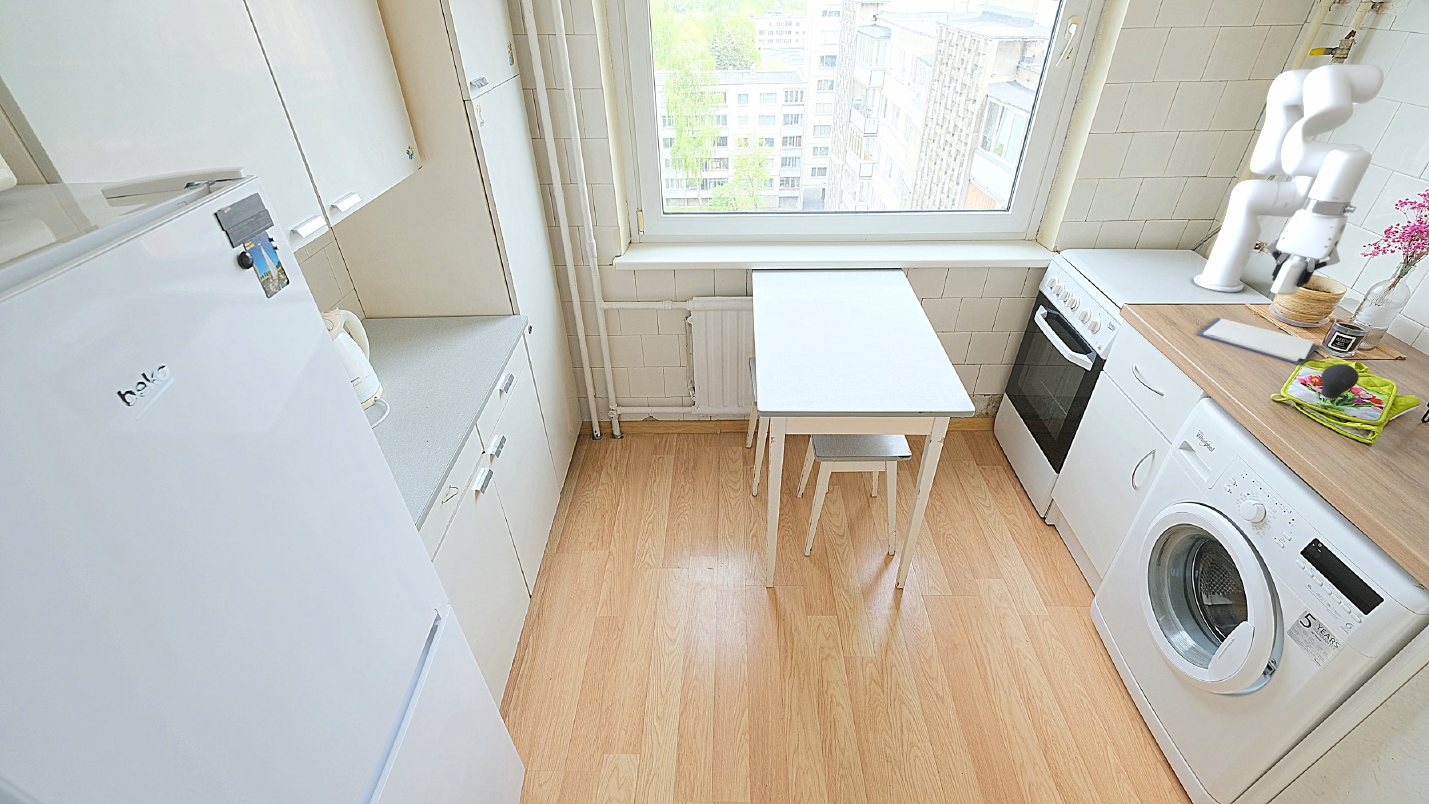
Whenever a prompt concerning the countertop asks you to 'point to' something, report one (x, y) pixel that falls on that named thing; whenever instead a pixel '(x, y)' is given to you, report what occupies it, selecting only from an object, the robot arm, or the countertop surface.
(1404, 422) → the countertop surface
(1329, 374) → the light bulb
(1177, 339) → the countertop surface
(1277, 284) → the eye dropper bottle
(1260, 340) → the grey flat slab
